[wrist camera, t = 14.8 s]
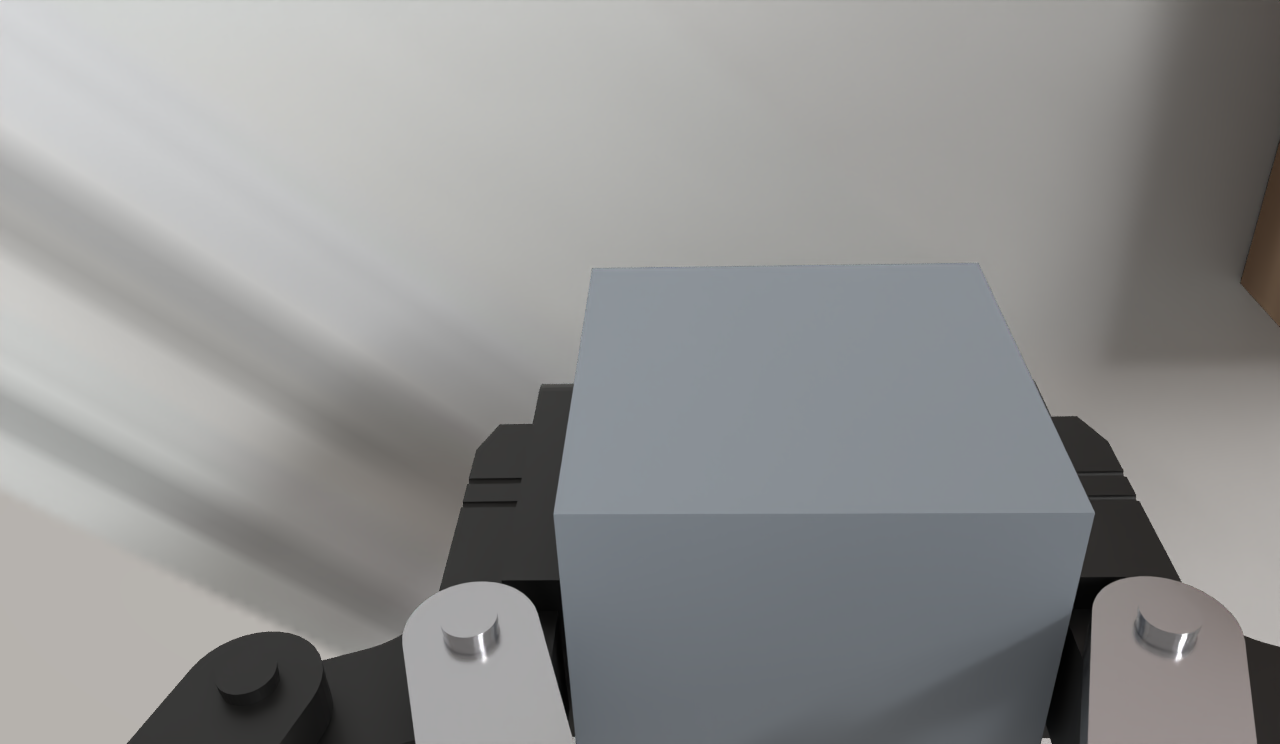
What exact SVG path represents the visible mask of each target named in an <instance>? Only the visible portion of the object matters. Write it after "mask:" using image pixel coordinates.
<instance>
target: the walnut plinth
mask: <svg viewBox="0 0 1280 744" xmlns="http://www.w3.org/2000/svg"><path fill="white" fill-rule="evenodd" d="M1240 284H1241V285H1242V286H1243V287H1244V288H1245V289H1246V290H1247V291H1248V292H1249V293H1250V295H1251V296H1252V297H1253V298H1254V299H1255V300H1256V301H1257V302H1258V303H1259V305H1260V306H1261V307H1262V308H1263V309H1264V310H1265V311H1266V312H1267V313H1268V315H1269V316H1270V317H1271V318H1272V319H1273V320H1274V321H1275V322H1276V323H1277V325H1278V326H1279V327H1280V142H1279V146H1278V149H1277V153H1276V156H1275V160H1274V164H1273V167H1272V171H1271V174H1270V178H1269V182H1268V185H1267V189H1266V192H1265V196H1264V200H1263V203H1262V207H1261V211H1260V214H1259V218H1258V221H1257V225H1256V229H1255V232H1254V236H1253V239H1252V243H1251V247H1250V250H1249V254H1248V257H1247V261H1246V265H1245V268H1244V272H1243V276H1242V279H1241V283H1240Z"/></svg>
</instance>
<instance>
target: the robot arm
mask: <svg viewBox="0 0 1280 744" xmlns="http://www.w3.org/2000/svg"><path fill="white" fill-rule="evenodd" d="M1033 381H1034V380H1033ZM1034 383H1035V381H1034ZM1035 385H1036V383H1035ZM573 387H574V384H542V385H541V387H540V391H539V395H538V400H537V405H536V410H535V415H534V420H533V424H503V425H499V426H498V427H497V428H496V429H495V430H494V431H493V433H492V434H491V435H490V436H489V437H488V438H487V439H486V440H485V441H484V442H483V443H482V445H481V446H480V447H479V448H478V449H477V450H476V454H475V458H474V462H473V465H472V469H471V473H470V477H469V484H467V488H466V492H465V496H464V499H463V508H461V511H460V514H459V518H458V522H457V526H456V530H455V533H454V537H453V541H452V545H451V549H450V552H449V556H448V560H447V564H446V567H445V571H444V575H443V579H442V583H441V586H440V590H439V592H438V593H436V594H434V595H432V596H431V597H429V598H428V599H426V600H425V601H424V602H422V603H421V604H420V605H419V606H418V607H417V608H416V609H415V610H414V612H413V613H412V614H411V616H410V617H409V619H408V621H407V623H406V625H405V627H404V631H403V634H402V635H400V636H399V637H397V638H395V639H393V640H391V641H389V642H386V643H384V644H382V645H379V646H375V647H372V648H369V649H365V650H362V651H358V652H354V653H350V654H346V655H342V656H338V657H334V658H331V659H327V660H323V661H322V660H321V657H320V654H319V653H318V651H317V650H316V648H315V647H314V646H313V645H312V644H311V643H310V642H308V641H307V640H305V639H303V638H301V637H300V636H297V635H293V634H290V633H284V632H261V633H254V634H250V635H246V636H242V637H239V638H237V639H234V640H231V641H229V642H227V643H225V644H223V645H221V646H219V647H218V648H216V649H214V650H213V651H211V652H210V653H208V654H207V655H206V656H205V657H203V658H202V659H201V660H199V661H198V662H197V664H195V665H194V666H193V667H192V669H191V670H190V671H189V672H188V673H187V674H186V675H185V677H184V678H183V679H182V680H181V681H180V682H179V684H178V685H177V686H176V687H175V688H174V689H173V691H172V692H171V693H170V694H169V695H168V696H167V698H166V699H165V700H164V701H163V702H162V703H161V705H160V706H159V707H158V708H157V709H156V710H155V712H154V713H153V714H152V715H151V716H150V717H149V719H148V720H147V721H146V722H145V723H144V724H143V726H142V727H141V728H140V729H139V730H138V731H137V733H136V734H135V735H134V736H133V737H132V738H131V740H130V741H129V742H128V743H127V744H574V742H573V738H572V737H575V728H574V718H573V708H572V698H571V688H570V678H569V667H568V657H567V647H566V637H565V627H564V617H563V607H562V596H561V586H560V576H559V566H558V556H557V546H556V536H555V525H554V515H553V514H554V507H555V501H556V495H557V488H558V482H559V476H560V469H561V463H562V457H563V450H564V444H565V438H566V431H567V425H568V419H569V412H570V406H571V400H572V393H573ZM1036 388H1037V390H1038V392H1039V389H1038V387H1037V385H1036ZM1039 394H1040V392H1039ZM1040 396H1041V394H1040ZM1041 398H1042V396H1041ZM1042 400H1043V398H1042ZM1043 403H1044V405H1045V407H1046V409H1047V406H1046V404H1045V402H1044V400H1043ZM1047 411H1048V409H1047ZM1048 413H1049V411H1048ZM1049 415H1050V413H1049ZM1050 418H1051V420H1052V422H1053V424H1054V426H1055V428H1056V430H1057V433H1058V435H1059V437H1060V439H1061V441H1062V443H1063V445H1064V448H1065V450H1066V452H1067V454H1068V456H1069V458H1070V460H1071V463H1072V465H1073V467H1074V469H1075V471H1076V473H1077V475H1078V478H1079V480H1080V482H1081V484H1082V486H1083V488H1084V490H1085V493H1086V495H1087V497H1088V499H1089V501H1090V503H1091V505H1092V508H1093V510H1094V512H1095V515H1094V519H1093V524H1092V528H1091V532H1090V536H1089V541H1088V545H1087V549H1086V553H1085V558H1084V562H1083V566H1082V570H1081V575H1080V579H1079V583H1078V587H1077V591H1076V596H1075V600H1074V604H1073V608H1072V613H1071V617H1070V621H1069V625H1068V630H1067V634H1066V638H1065V642H1064V647H1063V651H1062V655H1061V659H1060V664H1059V668H1058V672H1057V676H1056V681H1055V685H1054V689H1053V693H1052V698H1051V702H1050V706H1049V710H1048V714H1047V719H1046V723H1045V727H1044V731H1043V736H1042V738H1050V739H1051V743H1052V744H1280V647H1278V646H1274V645H1270V644H1267V643H1263V642H1260V641H1257V640H1254V639H1252V638H1249V637H1246V636H1244V635H1243V631H1242V629H1241V627H1240V625H1239V623H1238V622H1237V620H1236V619H1235V617H1234V616H1233V615H1232V614H1231V613H1230V612H1229V611H1228V610H1227V609H1226V608H1225V607H1224V606H1223V605H1222V604H1221V603H1220V602H1218V601H1217V600H1216V599H1214V598H1213V597H1211V596H1210V595H1208V594H1206V593H1205V592H1203V591H1201V590H1199V589H1197V588H1194V587H1192V586H1190V585H1187V584H1184V583H1182V582H1181V580H1180V578H1179V576H1178V574H1177V572H1176V570H1175V568H1174V566H1173V564H1172V563H1171V561H1170V559H1169V557H1168V555H1167V553H1166V551H1165V549H1164V547H1163V545H1162V544H1161V542H1160V540H1159V538H1158V536H1157V534H1156V532H1155V530H1154V528H1153V526H1152V524H1151V523H1150V521H1149V519H1148V517H1147V515H1146V513H1145V511H1144V509H1143V507H1142V505H1141V503H1140V502H1139V501H1136V494H1135V492H1134V490H1133V488H1132V486H1131V484H1130V483H1129V481H1128V479H1127V477H1124V476H1123V469H1122V467H1121V465H1120V463H1119V462H1118V460H1117V458H1116V456H1115V454H1114V452H1113V450H1112V448H1111V446H1110V444H1109V442H1108V441H1107V440H1105V439H1104V438H1103V437H1102V436H1100V435H1099V434H1098V433H1097V432H1096V431H1094V430H1093V429H1092V428H1091V427H1089V426H1088V425H1087V424H1086V423H1085V422H1083V421H1082V420H1081V419H1080V418H1078V417H1077V416H1066V417H1051V415H1050Z"/></svg>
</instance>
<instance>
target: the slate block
mask: <svg viewBox="0 0 1280 744" xmlns="http://www.w3.org/2000/svg"><path fill="white" fill-rule="evenodd" d="M553 515H554V525H555V536H556V546H557V556H558V566H559V576H560V586H561V596H562V607H563V617H564V627H565V637H566V647H567V657H568V667H569V678H570V688H571V698H572V708H573V718H574V728H575V739H576V744H1041V740H1042V736H1043V731H1044V727H1045V723H1046V719H1047V714H1048V710H1049V706H1050V702H1051V698H1052V693H1053V689H1054V685H1055V681H1056V676H1057V672H1058V668H1059V664H1060V659H1061V655H1062V651H1063V647H1064V642H1065V638H1066V634H1067V630H1068V625H1069V621H1070V617H1071V613H1072V608H1073V604H1074V600H1075V596H1076V591H1077V587H1078V583H1079V579H1080V575H1081V570H1082V566H1083V562H1084V558H1085V553H1086V549H1087V545H1088V541H1089V536H1090V532H1091V528H1092V524H1093V519H1094V515H1095V512H1094V510H1093V508H1092V505H1091V503H1090V501H1089V499H1088V497H1087V495H1086V493H1085V490H1084V488H1083V486H1082V484H1081V482H1080V480H1079V478H1078V475H1077V473H1076V471H1075V469H1074V467H1073V465H1072V463H1071V460H1070V458H1069V456H1068V454H1067V452H1066V450H1065V448H1064V445H1063V443H1062V441H1061V439H1060V437H1059V435H1058V433H1057V430H1056V428H1055V426H1054V424H1053V422H1052V420H1051V418H1050V415H1049V413H1048V411H1047V409H1046V407H1045V405H1044V403H1043V400H1042V398H1041V396H1040V394H1039V392H1038V390H1037V388H1036V385H1035V383H1034V381H1033V379H1032V377H1031V375H1030V373H1029V370H1028V368H1027V366H1026V364H1025V362H1024V360H1023V358H1022V355H1021V353H1020V351H1019V349H1018V347H1017V345H1016V343H1015V340H1014V338H1013V336H1012V334H1011V332H1010V330H1009V328H1008V325H1007V323H1006V321H1005V319H1004V317H1003V315H1002V313H1001V310H1000V308H999V306H998V304H997V302H996V300H995V298H994V295H993V293H992V291H991V289H990V287H989V285H988V283H987V280H986V278H985V276H984V274H983V272H982V270H981V268H980V265H979V263H939V264H866V265H793V266H720V267H647V268H592V273H591V279H590V286H589V292H588V298H587V305H586V311H585V317H584V324H583V330H582V336H581V343H580V349H579V355H578V362H577V368H576V374H575V381H574V387H573V393H572V400H571V406H570V412H569V419H568V425H567V431H566V438H565V444H564V450H563V457H562V463H561V469H560V476H559V482H558V488H557V495H556V501H555V507H554V514H553Z"/></svg>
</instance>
